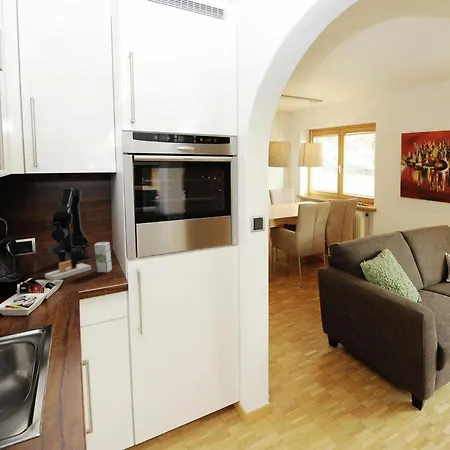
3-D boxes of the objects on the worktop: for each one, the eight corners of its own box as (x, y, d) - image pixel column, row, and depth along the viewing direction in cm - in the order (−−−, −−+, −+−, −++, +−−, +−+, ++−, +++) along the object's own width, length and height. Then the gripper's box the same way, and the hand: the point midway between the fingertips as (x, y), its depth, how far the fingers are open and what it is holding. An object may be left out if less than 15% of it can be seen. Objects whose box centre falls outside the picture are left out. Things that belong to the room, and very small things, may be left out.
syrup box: (112, 269, 189) (110, 241, 186) (107, 272, 183) (105, 244, 180) (101, 269, 190) (99, 241, 187) (96, 272, 184) (93, 244, 181)
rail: (81, 266, 194) (81, 263, 194) (91, 269, 189) (90, 265, 189) (45, 277, 178) (44, 273, 177) (54, 280, 173) (53, 276, 173)
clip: (74, 270, 187) (73, 259, 186) (77, 271, 186) (76, 259, 185) (59, 275, 181) (58, 263, 180) (62, 276, 180) (61, 264, 178)
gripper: (38, 237, 179) (42, 268, 182) (60, 242, 168) (64, 275, 171) (59, 233, 188) (63, 262, 191) (82, 237, 177) (85, 268, 180)
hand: (68, 267), depth 183 cm, fingers open, 9 cm apart
